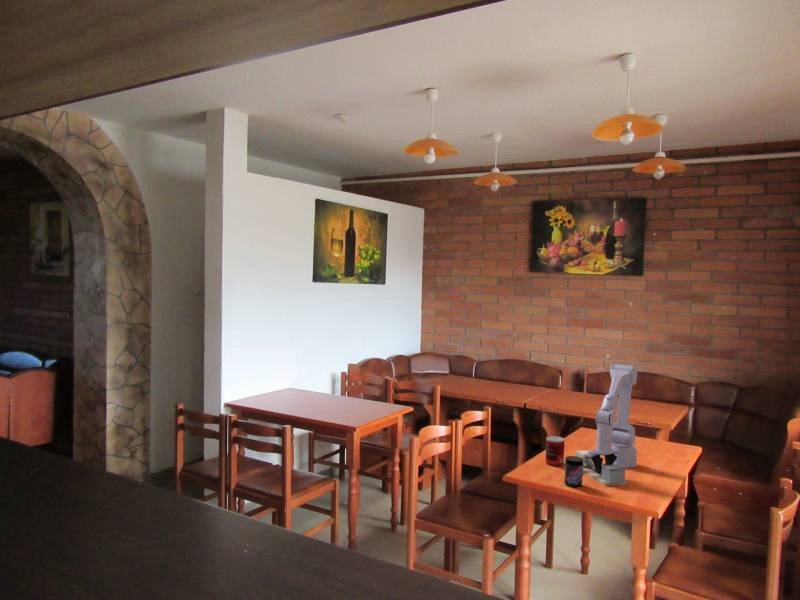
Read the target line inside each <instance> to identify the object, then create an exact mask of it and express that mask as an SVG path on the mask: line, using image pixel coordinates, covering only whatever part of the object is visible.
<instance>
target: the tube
mask: <svg viewBox="0 0 800 600" xmlns="http://www.w3.org/2000/svg"><path fill="white" fill-rule="evenodd" d="M584 464H585V465H587V466H589V467H591V468H592V469H594V470H595V466H594V463H593V460H592V458H591V457H589V456H585V461H584ZM602 465H605V463H603V462H602ZM601 474H602V466H601Z"/></svg>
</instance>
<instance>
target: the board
mask: <svg viewBox="0 0 800 600" xmlns="http://www.w3.org/2000/svg"><path fill="white" fill-rule="evenodd" d="M583 474H584V475H586V474H587V476H588V475H589V476H588V477H590V478H591V477H592V478H591V479H593V480H594V481H596V480H597V481H596V482H598V483H600V484H602V485H603V486H605V487H615V486H616V485H617V486H618V485H619V486H628V485H630V484H629V483H630V482H629V481H627V480H625V482H621V483H608V482H606V481H605V480H603V479H602V474H598V473H596V471H595V470H594V469H592V468H591V467H589V466H587V465H585V464H584V467H583ZM617 486H616V487H617Z"/></svg>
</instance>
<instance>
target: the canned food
mask: <svg viewBox="0 0 800 600" xmlns="http://www.w3.org/2000/svg"><path fill="white" fill-rule="evenodd" d="M564 461H565V438H564V437H561V436H554V435H550V436H547V437H546V439H545V463H546V465H549V466H551V467H552V466H553V467H561V466H562V467H563V465H564V464H565V462H564Z"/></svg>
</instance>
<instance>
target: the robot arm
mask: <svg viewBox="0 0 800 600" xmlns="http://www.w3.org/2000/svg"><path fill="white" fill-rule="evenodd" d="M609 375H610V379H611V383H610V387H609V389H608V391H609V392H608V394H605V396H604V397H603V400H602V404H601V406H600V409H599V410H596V413H595V419H594V421H595V425H596V428H597V429H596V430H597V431H596V447H595V449H591V451H588V454H587V456H589V457H591V458H592V460H593V463H594V466H595V471H596V473H598V474H601V466H602V463H603V461H604V462H605V463H604V464H605V465H616V464H617V465H619V466H621V467H623V468H625V469H628V468H629V469H630V468H638V465H637V456H638V455H637V453H638V452H637V447H636V446H635V443H636V428H635V427H634V426H633V425H632V424H631V423H630V415H631V413H630V411H631V399H632V389H633V386H634V385H635V386H636V385H637V379H638V378H637V377H638V369H637V366H635V365H626V364H618V363H617V364H616V363H612V364H611V365H610V368H609ZM616 410H617V413H616ZM616 415H617V417H616ZM601 456H603V457H604V458H602V457H601Z"/></svg>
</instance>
